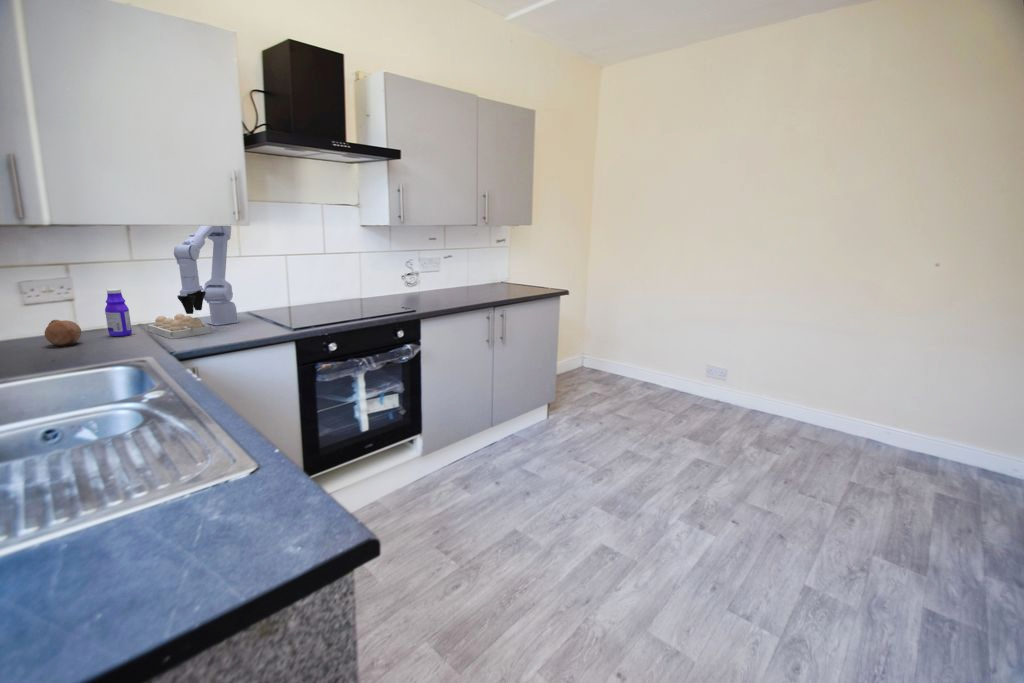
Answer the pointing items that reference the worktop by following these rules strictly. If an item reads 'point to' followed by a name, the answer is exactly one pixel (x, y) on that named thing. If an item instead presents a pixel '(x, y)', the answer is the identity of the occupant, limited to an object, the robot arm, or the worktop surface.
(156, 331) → the carton
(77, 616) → the worktop surface
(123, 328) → the bottle
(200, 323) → the egg
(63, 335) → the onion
